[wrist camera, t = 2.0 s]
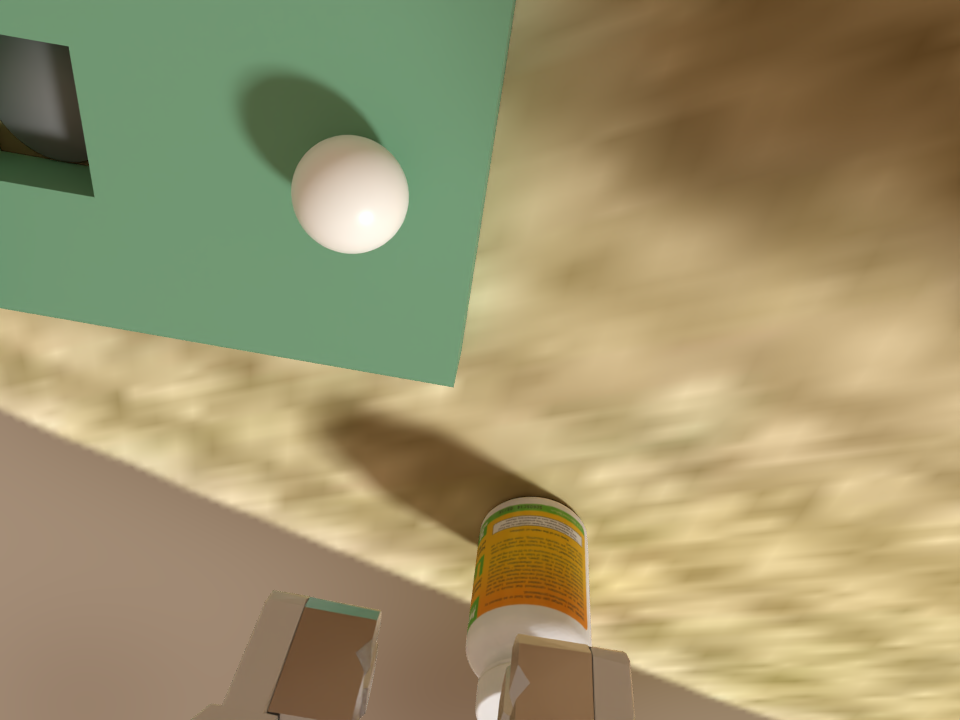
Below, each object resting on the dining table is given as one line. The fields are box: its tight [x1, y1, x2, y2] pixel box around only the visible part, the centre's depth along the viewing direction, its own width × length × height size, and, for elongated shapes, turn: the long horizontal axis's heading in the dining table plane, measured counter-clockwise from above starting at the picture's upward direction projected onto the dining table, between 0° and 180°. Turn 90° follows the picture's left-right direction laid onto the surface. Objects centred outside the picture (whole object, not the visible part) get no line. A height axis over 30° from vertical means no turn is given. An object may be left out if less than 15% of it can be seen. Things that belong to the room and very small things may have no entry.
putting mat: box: [0, 0, 516, 387], centre depth 24 cm, size 20×16×4 cm
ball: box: [291, 135, 409, 254], centre depth 22 cm, size 4×4×4 cm
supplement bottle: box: [466, 497, 592, 720], centre depth 32 cm, size 5×5×10 cm
